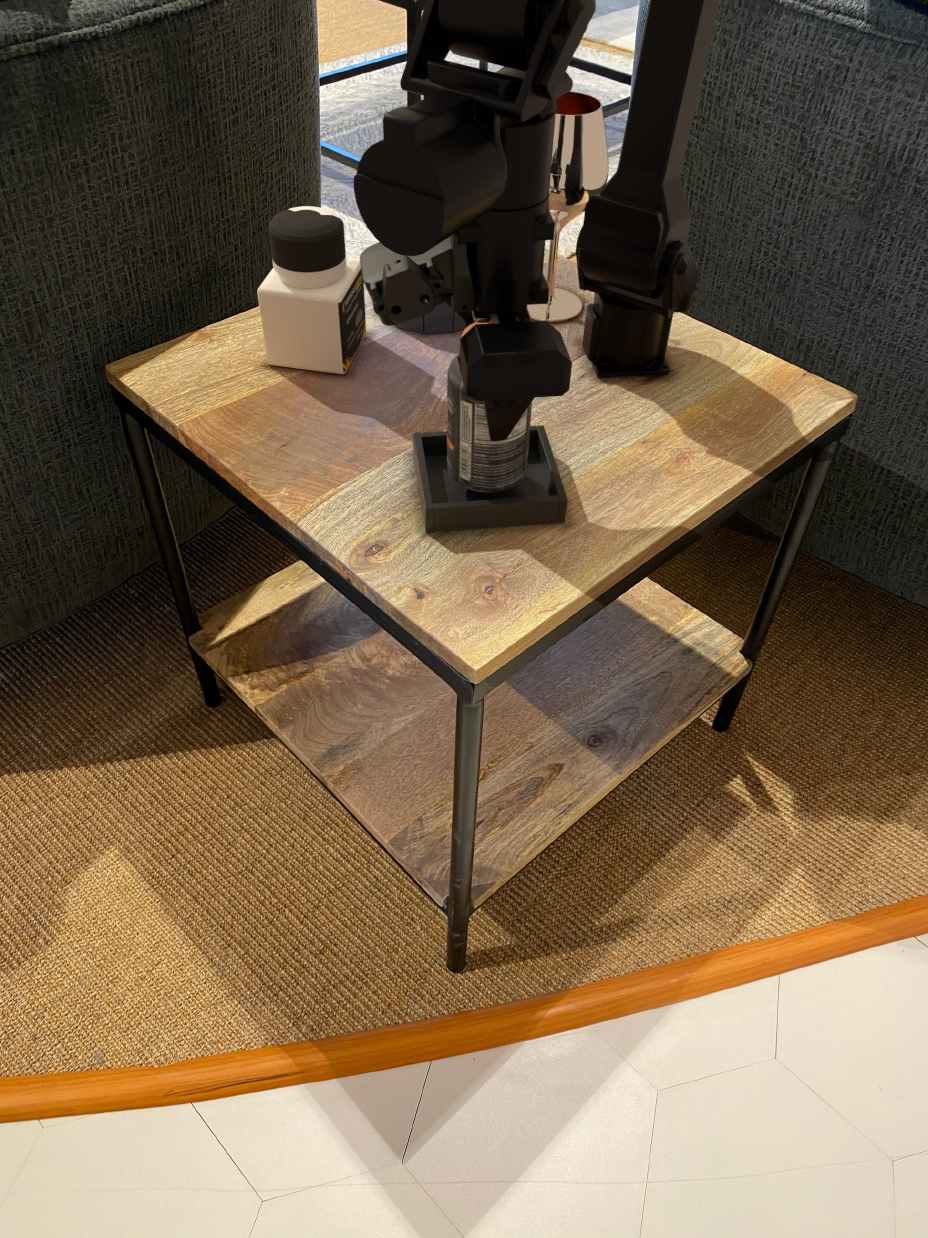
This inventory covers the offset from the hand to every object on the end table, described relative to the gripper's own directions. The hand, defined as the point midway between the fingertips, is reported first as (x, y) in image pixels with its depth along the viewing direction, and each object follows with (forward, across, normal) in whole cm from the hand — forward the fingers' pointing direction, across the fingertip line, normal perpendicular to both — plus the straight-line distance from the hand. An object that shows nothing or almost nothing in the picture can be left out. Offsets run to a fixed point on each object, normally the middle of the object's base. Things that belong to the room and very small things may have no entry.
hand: (490, 413), depth 70 cm
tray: (+7, 0, 0) cm, 7 cm away
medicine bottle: (+7, -21, -12) cm, 25 cm away
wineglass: (+7, -27, +10) cm, 30 cm away
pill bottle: (+5, 0, 0) cm, 5 cm away
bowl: (+7, -28, -1) cm, 29 cm away
